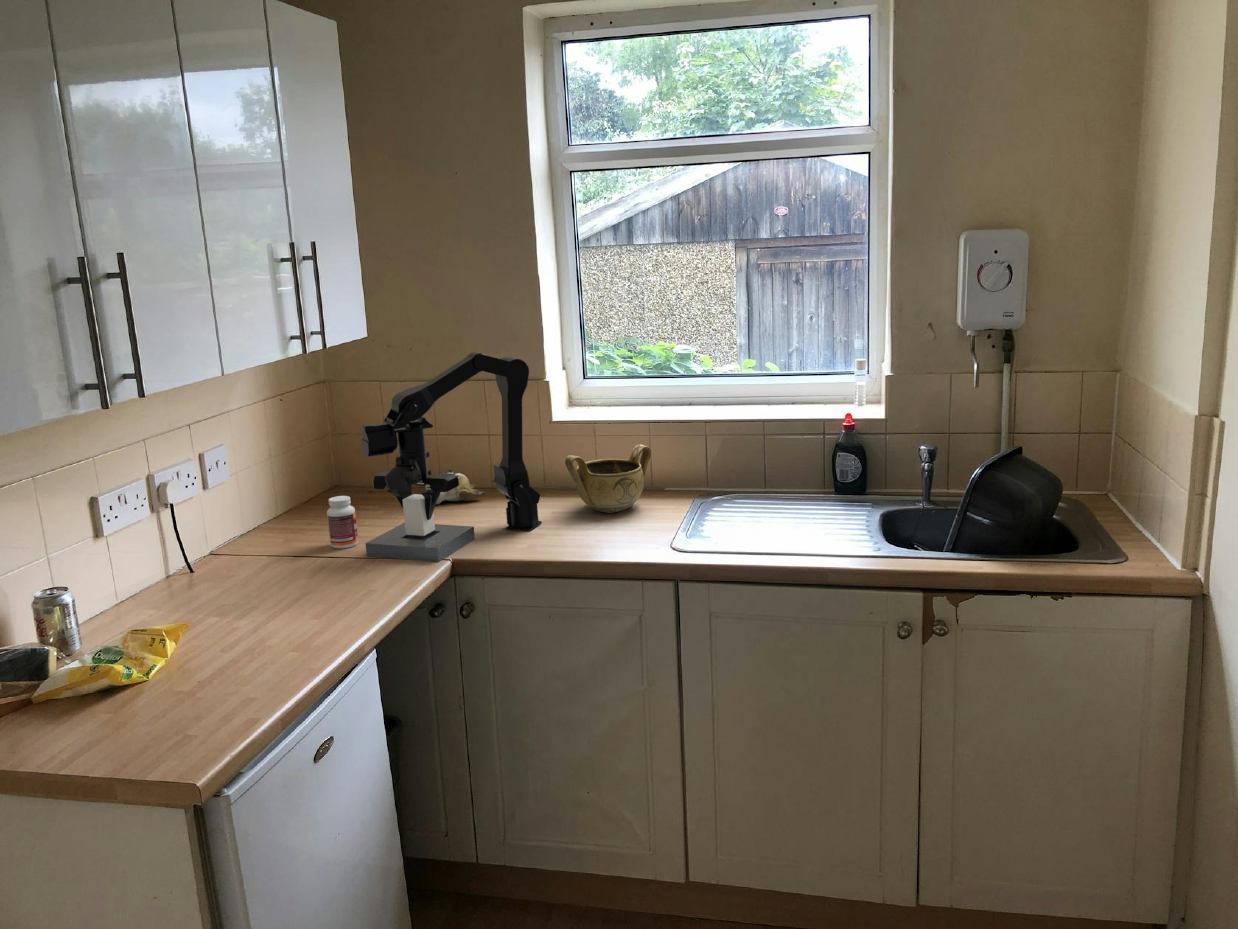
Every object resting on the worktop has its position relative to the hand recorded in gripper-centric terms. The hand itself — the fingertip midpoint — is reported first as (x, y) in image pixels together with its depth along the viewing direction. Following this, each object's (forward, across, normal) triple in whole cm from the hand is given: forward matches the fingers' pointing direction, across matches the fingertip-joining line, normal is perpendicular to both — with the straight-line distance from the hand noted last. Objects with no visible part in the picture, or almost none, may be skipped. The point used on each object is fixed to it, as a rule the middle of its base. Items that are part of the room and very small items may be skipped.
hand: (419, 518), depth 220 cm
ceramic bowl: (+7, +31, +37) cm, 49 cm away
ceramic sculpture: (+7, -13, +37) cm, 40 cm away
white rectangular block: (+3, 0, 0) cm, 3 cm away
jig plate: (+7, 0, 0) cm, 7 cm away
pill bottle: (+7, -19, -2) cm, 20 cm away
